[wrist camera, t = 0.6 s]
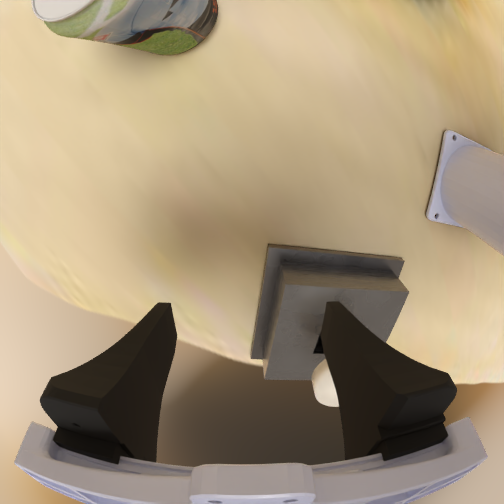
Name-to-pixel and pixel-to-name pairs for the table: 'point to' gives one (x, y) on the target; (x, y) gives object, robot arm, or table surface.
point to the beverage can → (132, 22)
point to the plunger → (324, 385)
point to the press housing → (319, 303)
